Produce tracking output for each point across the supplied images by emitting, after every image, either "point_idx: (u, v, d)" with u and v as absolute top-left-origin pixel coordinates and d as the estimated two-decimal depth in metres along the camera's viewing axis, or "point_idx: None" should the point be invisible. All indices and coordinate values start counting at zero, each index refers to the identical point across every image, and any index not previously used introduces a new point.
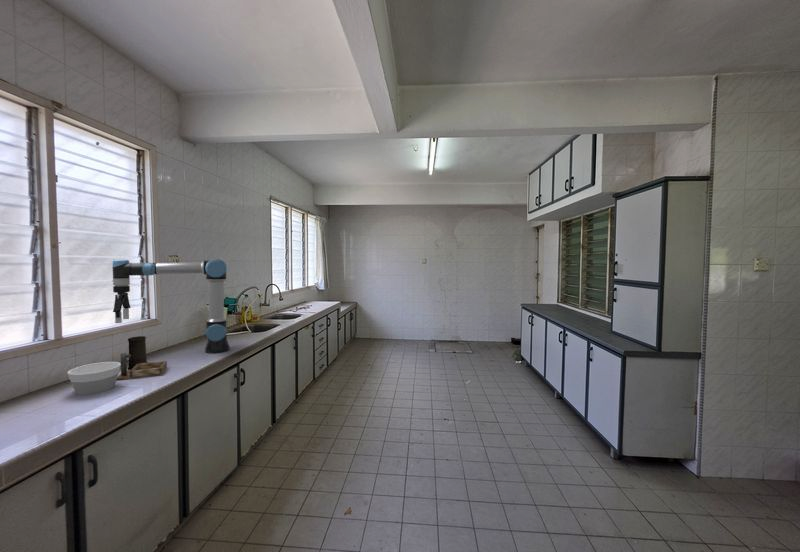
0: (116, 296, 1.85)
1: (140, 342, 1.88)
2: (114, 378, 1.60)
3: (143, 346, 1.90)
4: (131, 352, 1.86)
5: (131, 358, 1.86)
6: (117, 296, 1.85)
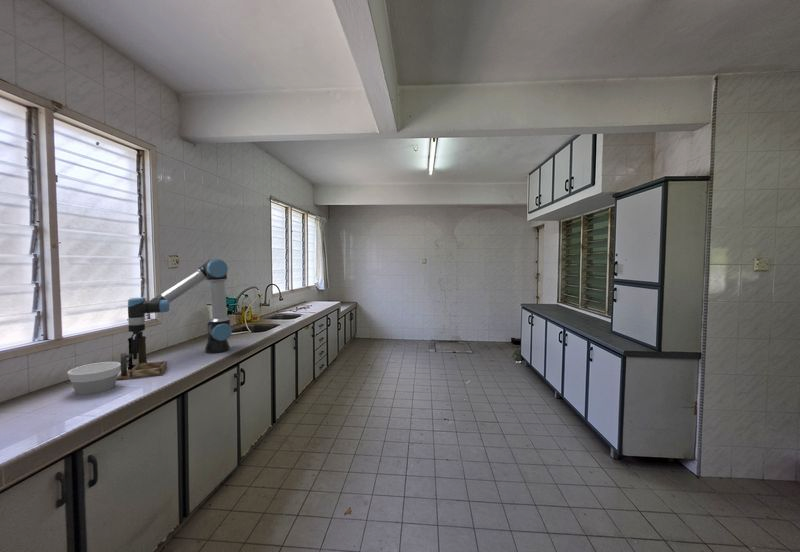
0: (132, 338, 1.83)
1: (140, 342, 1.88)
2: (114, 378, 1.60)
3: (143, 346, 1.90)
4: None
5: (131, 358, 1.86)
6: (133, 338, 1.83)
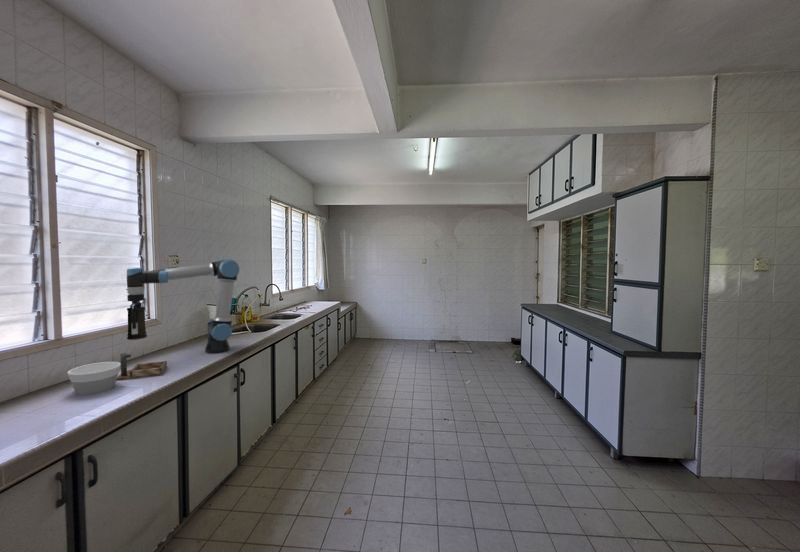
0: (131, 307, 1.82)
1: (139, 312, 1.87)
2: (114, 378, 1.60)
3: (142, 316, 1.89)
4: None
5: (130, 328, 1.85)
6: (132, 307, 1.83)
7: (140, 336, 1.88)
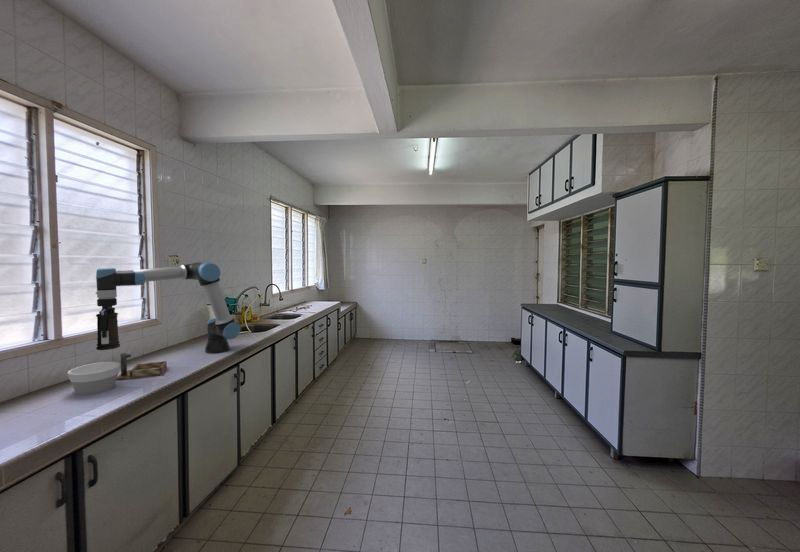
0: (100, 313, 1.60)
1: (110, 318, 1.65)
2: (114, 378, 1.60)
3: (114, 323, 1.66)
4: None
5: (100, 336, 1.63)
6: (102, 313, 1.60)
7: (111, 346, 1.65)
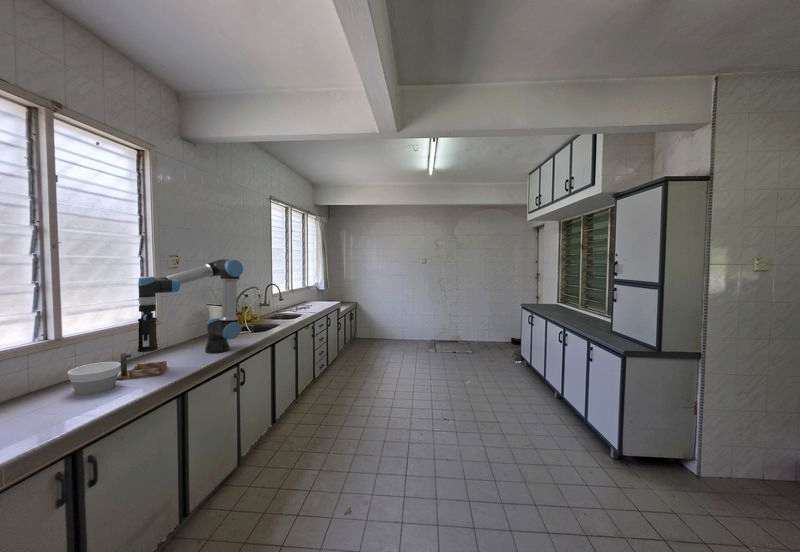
0: (143, 318, 1.74)
1: (150, 323, 1.79)
2: (114, 378, 1.60)
3: (153, 327, 1.80)
4: None
5: (141, 339, 1.77)
6: (144, 318, 1.74)
7: (151, 348, 1.79)
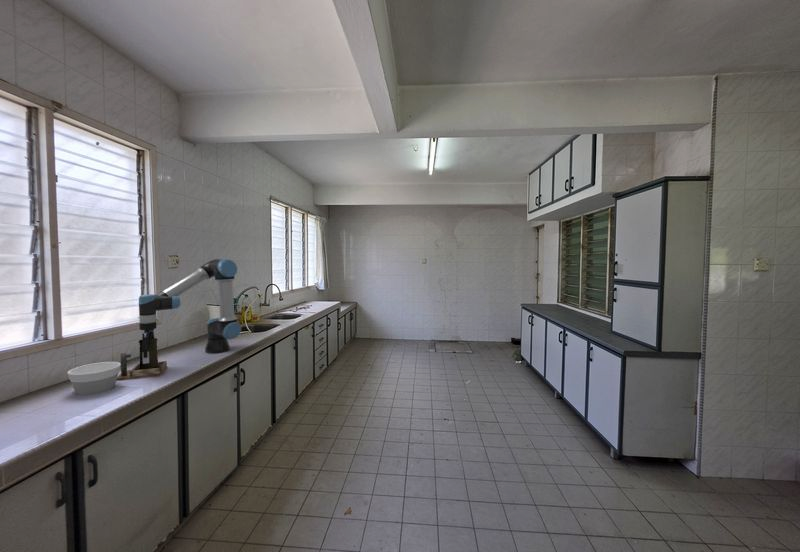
0: (143, 335, 1.75)
1: (151, 344, 1.80)
2: (114, 378, 1.60)
3: (154, 348, 1.81)
4: (142, 354, 1.78)
5: (142, 361, 1.78)
6: (144, 335, 1.75)
7: None
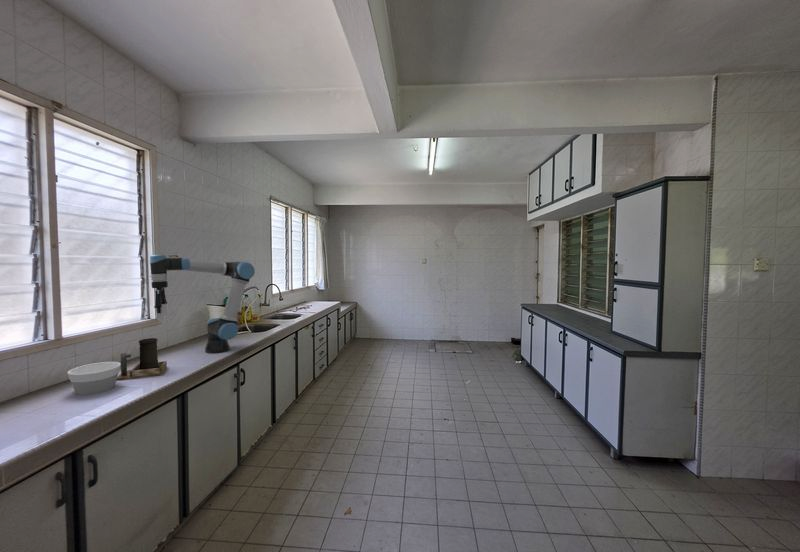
0: (156, 292, 1.83)
1: (151, 344, 1.79)
2: (114, 378, 1.60)
3: (154, 348, 1.81)
4: (142, 355, 1.78)
5: (142, 361, 1.78)
6: (157, 292, 1.83)
7: None
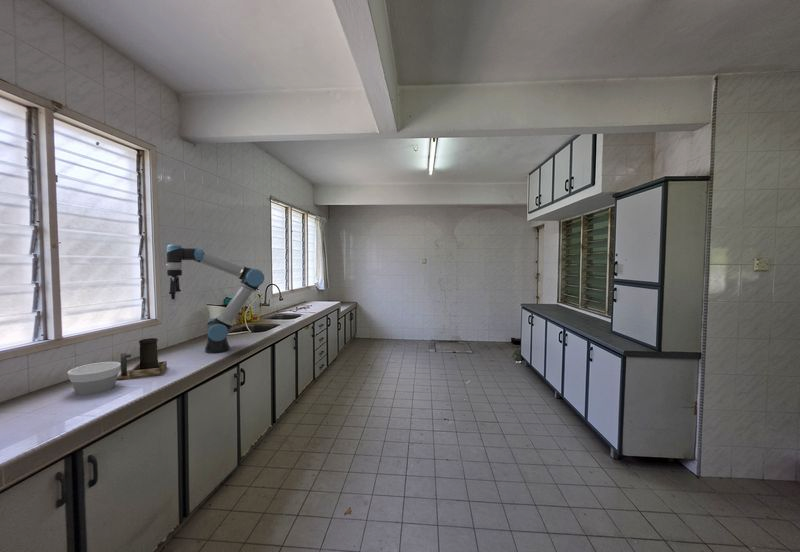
0: (171, 279, 1.96)
1: (151, 344, 1.79)
2: (114, 378, 1.60)
3: (155, 348, 1.81)
4: (142, 355, 1.78)
5: (142, 361, 1.78)
6: (172, 279, 1.96)
7: None
